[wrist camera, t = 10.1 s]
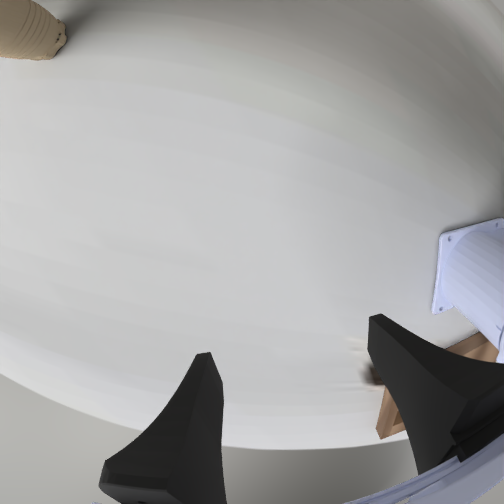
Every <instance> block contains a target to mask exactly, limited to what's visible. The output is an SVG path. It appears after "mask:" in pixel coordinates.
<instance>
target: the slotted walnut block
mask: <svg viewBox="0 0 504 504" xmlns="http://www.w3.org/2000/svg"><path fill="white" fill-rule="evenodd" d="M445 350H448V351H450V352H453V353H456V354H459V355H462V356H465V357H468V358H472V359H477V360H482V361H487V362H496V358H497V356H498V354H499V350H498V349H497V348H496V347H495V346H494V345H493V344H492V343H491V342H490V341H489V340H488V339H487V338H486V337H485V336H484V335H483V334H482V333H481V332H479V333H477V334H475V335H473V336H471V337H469V338H467V339H465V340H463V341H461V342H459V343H457V344H455V345H453V346H451V347H449V348H447V349H445ZM376 430H377V432H378V435H379V437H380V439H383V438H386V437H389V436H391V435H394V434H396V433H399V432H401V431H404V430H406V428H405V426H404V423H403V420H402V418H401V415H400V413H399V411H398V408H397V406H396V404H395V402H394V400H393V398H392V396H391V395H390V393H389V391H388V389H387V388H386V386H385V391H384V396H383V401H382V405H381V410H380V414H379V418H378V422H377V426H376Z"/></svg>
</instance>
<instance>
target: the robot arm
mask: <svg viewBox="0 0 504 504" xmlns="http://www.w3.org/2000/svg"><path fill="white" fill-rule="evenodd" d="M449 236H450V237H449ZM448 237H449V239H448ZM453 307H456V308H457V309H458V310H459V311H460V312H461V313H462V314H463V315H464V316H465V317H466V318H467V319H468V320H469V321H470V322H471V323H472V324H473V325H474V326H475V327H476V328H477V329H478V330H479V331H480V332H481V333H482V334H483V335H484V336H485V337H486V338H487V339H488V340H489V341H490V342H491V343H492V344H493V345H494V346H495V347H496V348H497V349H498V350H499V354H498V356H497V358H496V361H497V362H498V363H495V362H487V361H482V360H477V359H472V358H468V357H465V356H462V355H459V354H456V353H453V352H450V351H448V350H445V349H443V348H440V347H438V346H436V345H434V344H432V343H430V342H428V341H426V340H424V339H422V338H420V337H419V336H417V335H415V334H413V333H412V332H410V331H408V330H407V329H405V328H403V327H402V326H400V325H399V324H397V323H396V322H394V321H392V320H391V319H389V318H388V317H386V316H385V315H383V314H377V315H374V316H371V317H369V332H368V349H367V350H368V352H369V355H370V357H371V360H372V362H373V364H374V367H375V369H376V370H377V372H378V374H379V376H380V377H381V379H382V381H383V383H384V384H385V386H386V388H387V389H388V391H389V393H390V395H391V396H392V398H393V400H394V402H395V404H396V406H397V408H398V410H399V413H400V415H401V418H402V420H403V423H404V426H405V428H406V431H407V434H408V437H409V440H410V443H411V447H412V450H413V454H414V458H415V461H416V466H417V470H418V475H419V476H417V477H414V478H412V479H410V480H408V481H405V482H403V483H401V484H398V485H396V486H394V487H391V488H388V489H386V490H383V491H381V492H378V493H375V494H372V495H370V496H366V497H364V498H360V499H357V500H354V501H351V502H347V503H344V504H395V503H397V502H399V501H402V500H404V499H406V498H408V497H410V498H409V501H408V502H407V503H404V504H470V503H471V502H473V501H474V500H475V499H477V498H479V497H480V496H481V495H483V494H484V493H486V492H487V491H488V490H490V489H491V488H492V487H494V486H495V485H496V484H497V483H499V482H500V481H501V480H503V479H504V219H503V218H497V219H493V220H490V221H486V222H482V223H479V224H475V225H471V226H467V227H464V228H460V229H456V230H452V231H448V232H445V233H442V234H441V236H440V239H439V252H438V264H437V274H436V283H435V291H434V298H433V304H432V313H433V314H435V315H436V314H439V313H441V312H444V311H446V310H448V309H451V308H453ZM223 407H224V397H223V382H222V380H221V377H220V375H219V372H218V370H217V368H216V365H215V363H214V360H213V358H212V355H211V353H210V352H207V353H201V354H197V355H196V356H195V358H194V360H193V362H192V364H191V366H190V368H189V370H188V371H187V373H186V375H185V377H184V379H183V380H182V382H181V384H180V385H179V387H178V389H177V390H176V392H175V393H174V395H173V396H172V398H171V399H170V401H169V402H168V404H167V405H166V407H165V408H164V409H163V410H162V412H161V413H160V414H159V415H158V417H157V418H156V419H155V420H154V421H153V422H152V423H151V424H150V426H149V427H148V428H147V429H146V430H145V431H144V432H143V433H142V434H141V435H139V437H137V438H136V439H135V440H134V441H133V442H131V443H130V444H129V445H127V446H126V447H125V448H124V449H122V450H121V451H119V452H118V453H116V454H115V455H113V456H112V457H110V458H109V459H107V460H105V463H104V466H103V469H102V473H101V477H100V482H99V488H100V489H101V490H102V491H103V492H104V493H105V494H107V495H108V496H110V497H112V498H113V499H115V500H116V501H118V502H120V503H121V504H227V501H226V494H225V487H224V478H223V467H222V453H221V439H222V423H223ZM413 495H414V496H413ZM411 496H412V497H411ZM92 504H99V503H95V502H92Z"/></svg>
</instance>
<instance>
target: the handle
mask: <svg viewBox="0 0 504 504" xmlns="http://www.w3.org/2000/svg"><path fill="white" fill-rule="evenodd" d="M65 28H66V26H65V25H64V24H63V23H62V22H61V21H60V20H59V19H57V20H56V18H55V17H54V16H53V15H52V14H51V13H50V12H48V11H47V10H46V9H45V8H43V7H42V6H40V5H39V4H37V3H35V2H34V1H32V0H0V57H5V58H13V59H30V60H42V59H45V60H50V59H52V58H53V57H54V56H55V54H56V52H57V51H58V50H59V49H60V47H62V46H63V45H64V44H65V42H66V39H67V37H66V36H65Z"/></svg>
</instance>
